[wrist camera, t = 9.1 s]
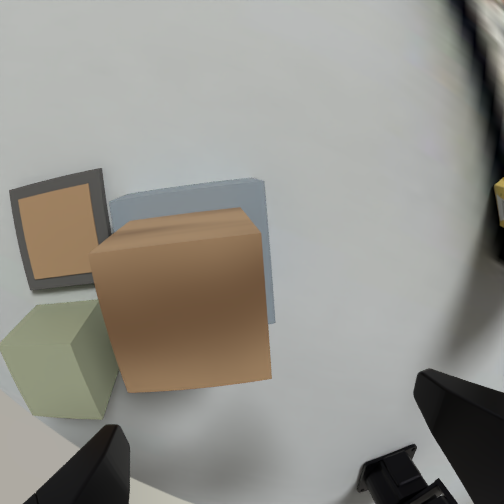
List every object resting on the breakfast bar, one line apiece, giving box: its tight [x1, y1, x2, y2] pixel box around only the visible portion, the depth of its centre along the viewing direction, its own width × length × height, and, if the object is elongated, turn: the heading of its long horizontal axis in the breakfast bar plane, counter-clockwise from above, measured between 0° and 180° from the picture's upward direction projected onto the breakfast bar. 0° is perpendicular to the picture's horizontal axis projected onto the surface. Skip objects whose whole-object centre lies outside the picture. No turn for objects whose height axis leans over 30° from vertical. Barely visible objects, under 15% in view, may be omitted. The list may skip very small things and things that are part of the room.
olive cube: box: [0, 300, 119, 420], centre depth 16 cm, size 5×5×6 cm
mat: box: [9, 168, 112, 290], centre depth 16 cm, size 6×6×1 cm
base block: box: [109, 178, 275, 324], centre depth 16 cm, size 7×7×4 cm
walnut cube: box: [88, 207, 272, 393], centre depth 12 cm, size 5×5×6 cm
